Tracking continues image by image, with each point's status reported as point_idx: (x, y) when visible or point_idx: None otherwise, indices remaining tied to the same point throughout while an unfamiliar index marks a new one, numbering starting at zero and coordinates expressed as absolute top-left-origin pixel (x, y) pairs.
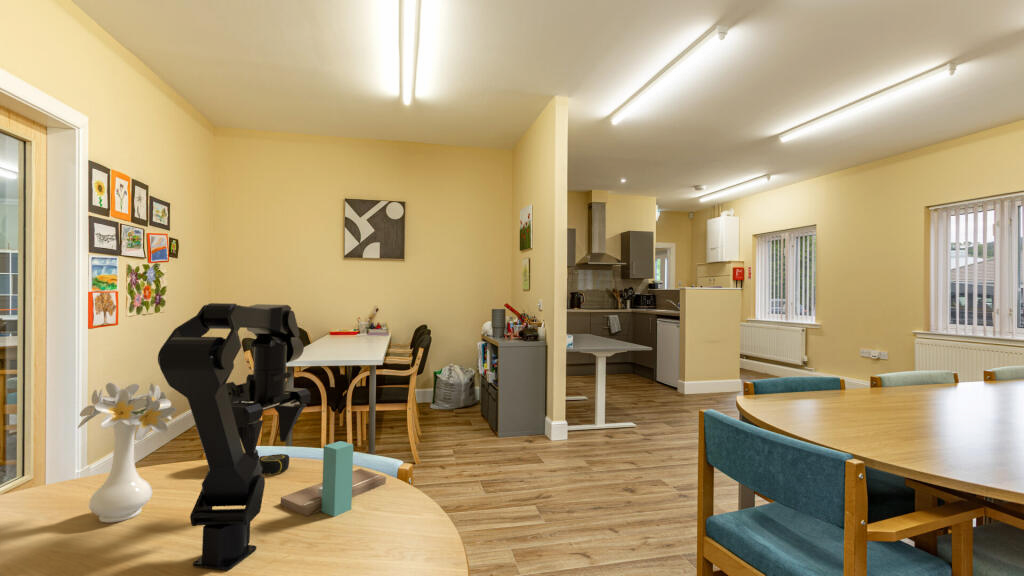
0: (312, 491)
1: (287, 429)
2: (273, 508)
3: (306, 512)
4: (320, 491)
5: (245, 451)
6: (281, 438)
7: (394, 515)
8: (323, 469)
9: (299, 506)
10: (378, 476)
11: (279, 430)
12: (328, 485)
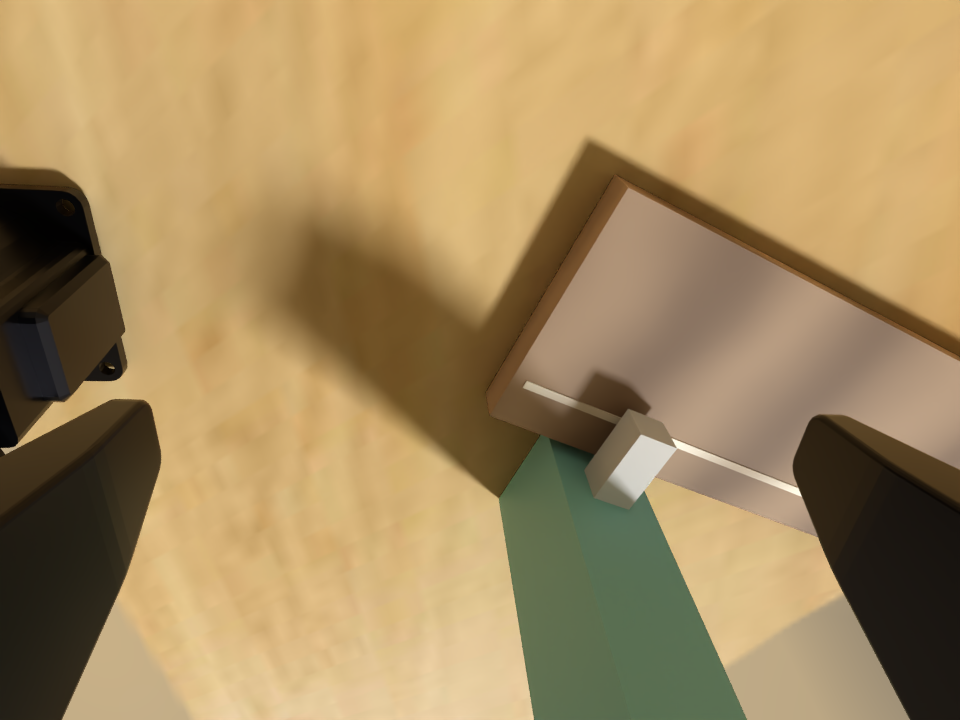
0: (715, 327)
1: (888, 632)
2: (560, 162)
3: (489, 400)
4: (625, 439)
5: (56, 437)
6: (825, 453)
7: None
8: (594, 607)
9: (522, 356)
10: None
11: (935, 497)
12: (547, 569)
